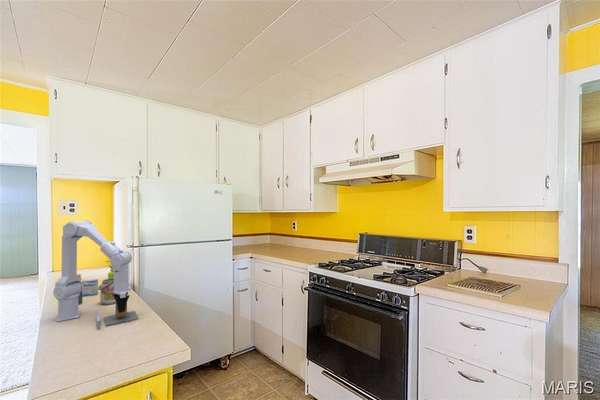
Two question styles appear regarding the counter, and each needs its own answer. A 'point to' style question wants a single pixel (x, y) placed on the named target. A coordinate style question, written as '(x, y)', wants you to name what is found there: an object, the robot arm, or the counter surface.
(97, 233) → the robot arm
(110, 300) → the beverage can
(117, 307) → the walnut block
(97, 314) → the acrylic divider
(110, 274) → the soap dispenser
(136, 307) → the counter surface
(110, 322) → the resting mat
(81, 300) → the bottle
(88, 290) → the medicine box
